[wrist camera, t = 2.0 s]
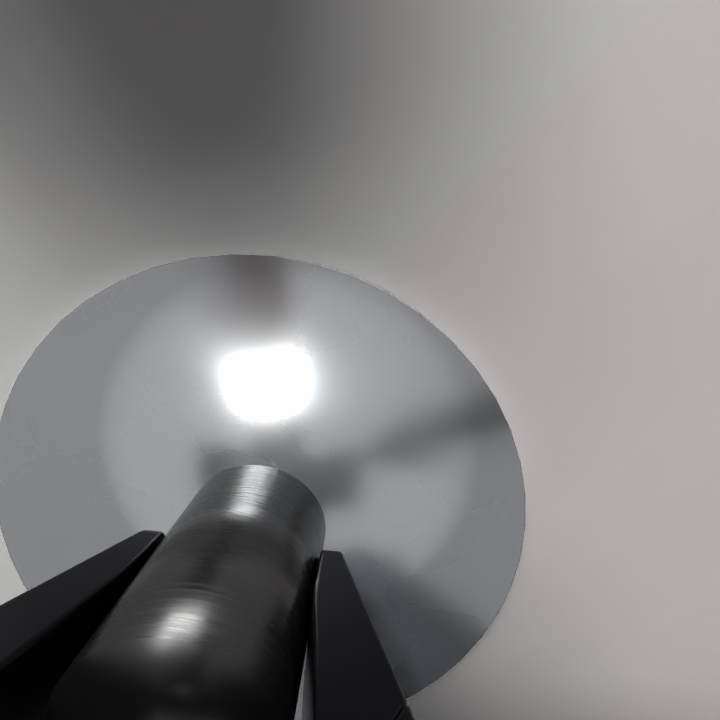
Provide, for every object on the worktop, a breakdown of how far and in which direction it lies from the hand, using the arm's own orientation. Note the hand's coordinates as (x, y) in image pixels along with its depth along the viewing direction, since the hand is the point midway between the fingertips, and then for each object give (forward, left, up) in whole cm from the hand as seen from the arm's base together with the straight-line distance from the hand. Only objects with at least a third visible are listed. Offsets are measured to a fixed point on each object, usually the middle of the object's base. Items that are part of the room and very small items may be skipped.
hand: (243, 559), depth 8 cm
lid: (0, 0, -2) cm, 2 cm away
